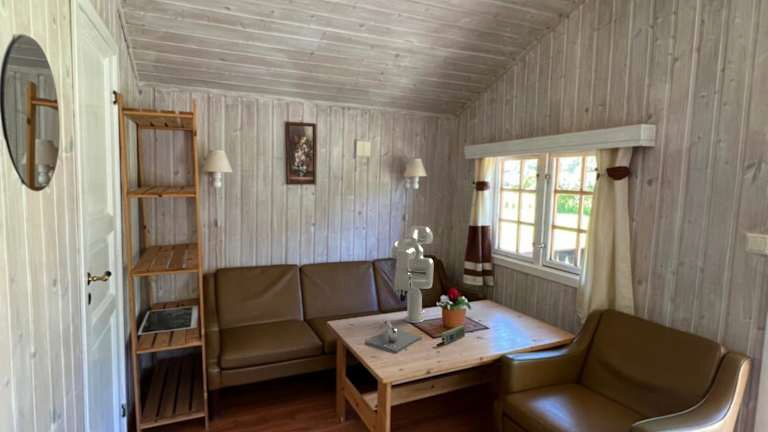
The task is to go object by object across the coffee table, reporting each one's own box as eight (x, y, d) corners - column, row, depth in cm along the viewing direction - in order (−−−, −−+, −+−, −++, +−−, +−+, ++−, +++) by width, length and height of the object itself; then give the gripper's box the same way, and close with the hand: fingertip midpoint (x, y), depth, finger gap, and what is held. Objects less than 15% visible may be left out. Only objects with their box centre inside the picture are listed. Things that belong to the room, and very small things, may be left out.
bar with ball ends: (383, 329, 263) (382, 317, 263) (391, 329, 264) (390, 317, 263) (390, 345, 239) (390, 332, 238) (399, 344, 240) (399, 331, 239)
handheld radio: (465, 336, 258) (439, 348, 241) (461, 335, 261) (435, 346, 243) (465, 325, 258) (439, 336, 240) (461, 324, 260) (434, 335, 243)
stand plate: (391, 330, 267) (391, 327, 267) (421, 338, 254) (421, 335, 254) (365, 343, 247) (365, 340, 247) (396, 353, 234) (396, 350, 233)
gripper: (417, 271, 248) (417, 301, 250) (396, 267, 256) (396, 297, 258) (410, 273, 242) (410, 305, 244) (388, 270, 250) (388, 300, 252)
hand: (403, 301), depth 251 cm, fingers closed
